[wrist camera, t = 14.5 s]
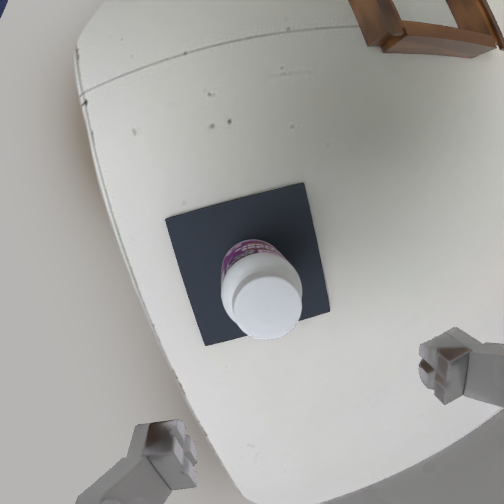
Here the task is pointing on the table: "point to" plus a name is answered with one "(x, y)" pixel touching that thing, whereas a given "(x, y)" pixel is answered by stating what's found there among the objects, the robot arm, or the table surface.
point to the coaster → (235, 231)
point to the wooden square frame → (430, 29)
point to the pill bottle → (260, 290)
